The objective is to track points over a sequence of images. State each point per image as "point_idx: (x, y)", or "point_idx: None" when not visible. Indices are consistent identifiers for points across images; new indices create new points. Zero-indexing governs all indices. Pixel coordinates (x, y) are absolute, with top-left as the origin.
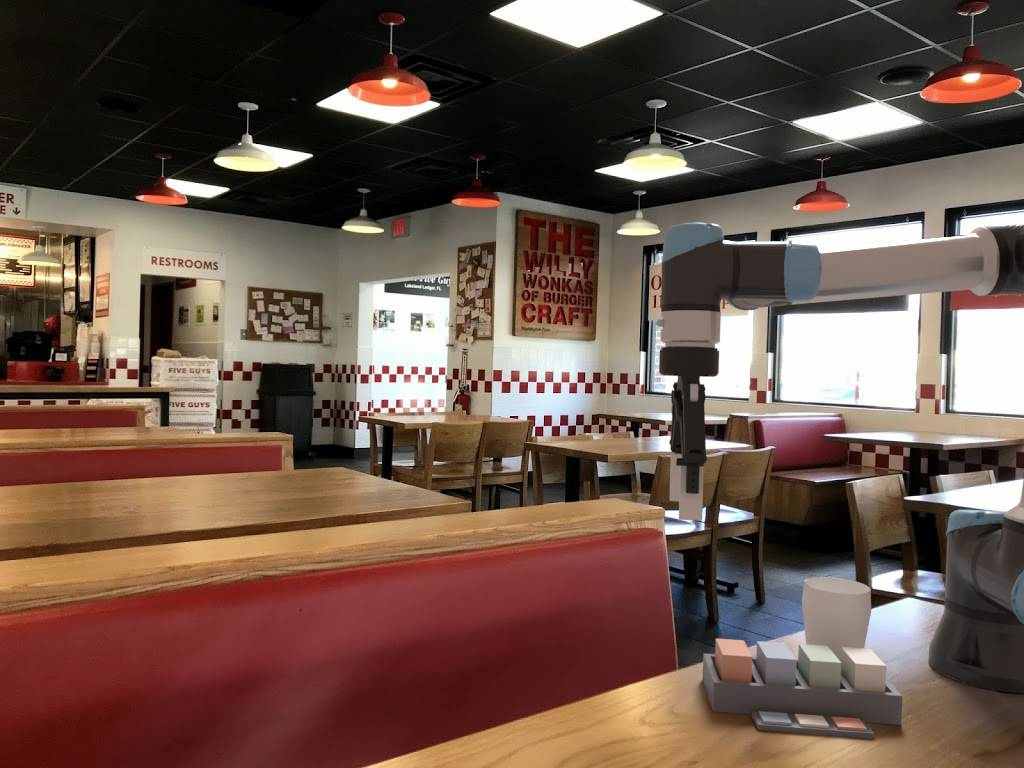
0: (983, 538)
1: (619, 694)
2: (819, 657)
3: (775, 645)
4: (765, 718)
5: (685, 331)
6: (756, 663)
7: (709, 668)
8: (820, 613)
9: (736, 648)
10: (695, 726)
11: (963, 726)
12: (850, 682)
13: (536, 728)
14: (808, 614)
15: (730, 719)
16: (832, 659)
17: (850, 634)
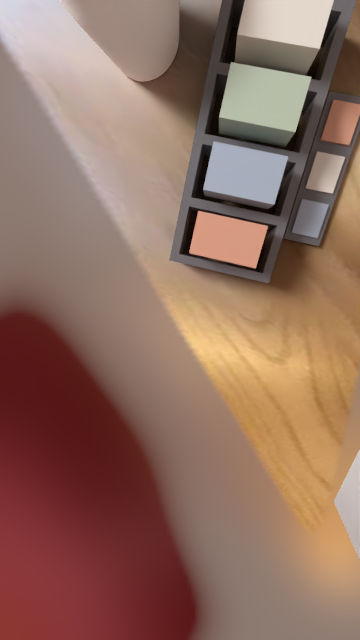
0: None
1: (211, 363)
2: (283, 107)
3: (223, 164)
4: (312, 233)
5: None
6: (206, 195)
7: (222, 271)
8: (152, 14)
9: (232, 237)
10: (297, 311)
11: None
12: (287, 68)
13: (279, 453)
14: (126, 37)
15: (286, 266)
16: (295, 86)
17: None
